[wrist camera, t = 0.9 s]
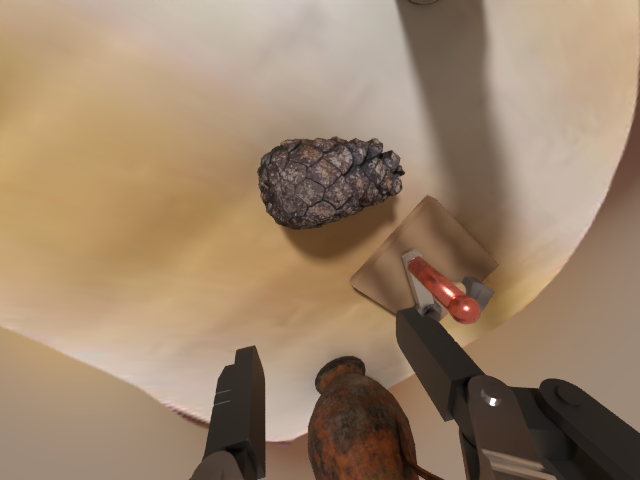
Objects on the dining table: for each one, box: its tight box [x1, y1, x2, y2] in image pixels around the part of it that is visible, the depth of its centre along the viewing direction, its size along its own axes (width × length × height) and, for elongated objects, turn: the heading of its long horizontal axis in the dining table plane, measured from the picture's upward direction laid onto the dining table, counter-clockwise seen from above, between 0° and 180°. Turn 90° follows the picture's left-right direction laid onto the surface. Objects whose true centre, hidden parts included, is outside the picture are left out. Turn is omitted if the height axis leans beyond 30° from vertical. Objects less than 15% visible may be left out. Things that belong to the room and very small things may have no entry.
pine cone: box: [257, 137, 405, 230], centre depth 29 cm, size 10×18×10 cm, turn 102°
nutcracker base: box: [350, 195, 499, 322], centre depth 42 cm, size 18×20×6 cm
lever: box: [401, 249, 481, 324], centre depth 36 cm, size 16×4×14 cm, turn 23°
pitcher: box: [308, 356, 444, 480], centre depth 38 cm, size 17×21×30 cm
